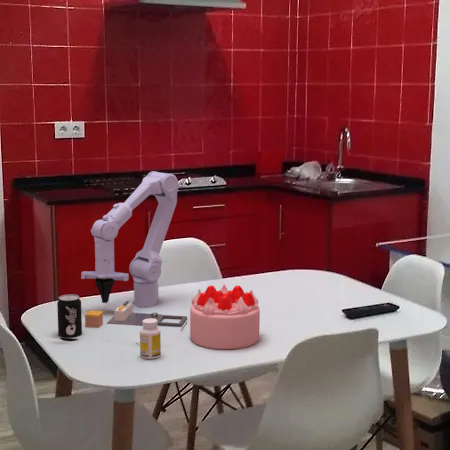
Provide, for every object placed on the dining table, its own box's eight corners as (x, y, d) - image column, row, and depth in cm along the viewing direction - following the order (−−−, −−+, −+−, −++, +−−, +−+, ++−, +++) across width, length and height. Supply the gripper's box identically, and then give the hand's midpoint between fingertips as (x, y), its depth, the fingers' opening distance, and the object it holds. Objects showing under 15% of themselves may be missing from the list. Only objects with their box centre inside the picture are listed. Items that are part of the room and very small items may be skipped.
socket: (161, 321, 231) (161, 314, 231) (187, 322, 230) (187, 316, 230) (154, 329, 223) (154, 322, 223) (181, 330, 222) (181, 324, 222)
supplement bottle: (161, 352, 204) (160, 317, 202) (160, 359, 199) (159, 323, 197) (140, 352, 204) (140, 317, 202) (139, 359, 199) (138, 323, 197)
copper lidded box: (89, 326, 226) (89, 310, 225) (103, 327, 225) (103, 311, 224) (85, 331, 222) (84, 314, 221) (98, 331, 221) (98, 315, 220)
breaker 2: (123, 311, 236) (123, 300, 236) (132, 312, 236) (132, 301, 235) (119, 315, 233) (119, 304, 232) (129, 316, 232) (128, 304, 231)
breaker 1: (118, 316, 232) (118, 305, 231) (128, 316, 231) (127, 305, 230) (114, 320, 228) (114, 308, 227) (124, 320, 227) (124, 309, 227)
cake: (189, 350, 206) (189, 299, 204) (191, 327, 226) (191, 280, 223) (261, 350, 207) (262, 300, 204) (257, 327, 226) (257, 281, 224)
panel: (118, 315, 236) (118, 310, 236) (162, 318, 234) (162, 312, 234) (106, 327, 225) (106, 321, 224) (152, 330, 223) (152, 324, 222)
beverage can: (59, 342, 211) (57, 301, 209) (57, 335, 217) (56, 294, 215) (83, 340, 213) (82, 299, 211) (81, 333, 219) (79, 293, 217)
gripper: (77, 260, 229) (78, 304, 232) (123, 263, 227) (124, 307, 230) (85, 255, 236) (86, 298, 239) (130, 258, 234) (130, 300, 236)
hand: (105, 302), depth 235 cm, fingers closed
